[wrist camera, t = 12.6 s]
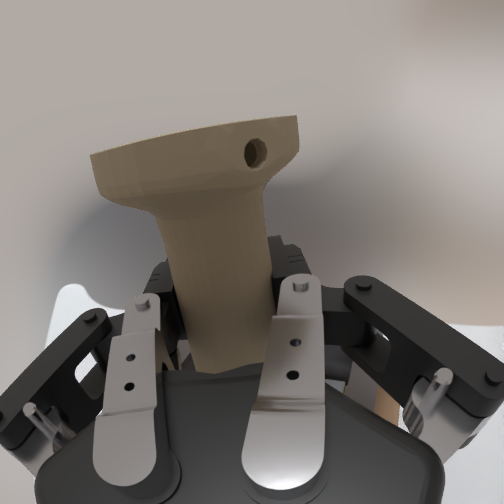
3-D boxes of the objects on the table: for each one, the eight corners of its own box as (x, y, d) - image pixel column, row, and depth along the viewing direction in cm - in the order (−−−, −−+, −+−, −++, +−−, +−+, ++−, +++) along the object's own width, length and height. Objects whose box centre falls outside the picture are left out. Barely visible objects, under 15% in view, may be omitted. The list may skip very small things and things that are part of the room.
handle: (187, 432, 14) (77, 158, 8) (266, 374, 18) (229, 122, 12) (243, 486, 11) (119, 147, 5) (326, 411, 15) (326, 113, 8)
